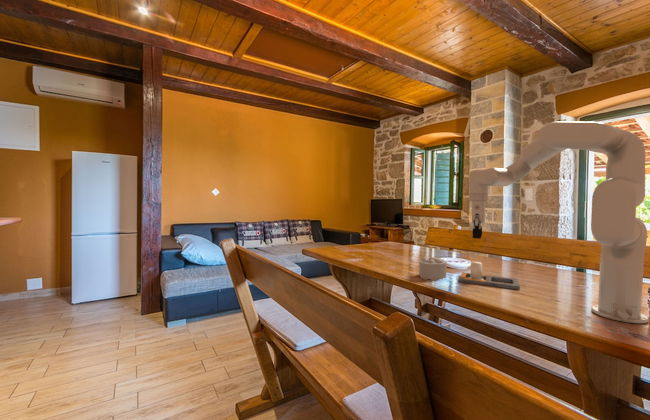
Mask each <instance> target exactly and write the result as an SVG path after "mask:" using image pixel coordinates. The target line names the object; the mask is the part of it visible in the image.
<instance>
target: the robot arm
mask: <svg viewBox="0 0 650 420" xmlns="http://www.w3.org/2000/svg"><path fill="white" fill-rule="evenodd" d="M568 149H569V150H580V151H581V150H582V151H588V152H593V153H599V154H603V155H606V157H607V161H606V167H605V180H603V181H601V182H600V183H598V184H597V185H596V186H595V188H594V189H593V193H592V198H591V214H590V215H591V216H590V217H591V218H590V230H591V231H590V232H591V234H592V237H593V238H594V240H595V241H596V242H597V243H599V244H600V245H601V249H600V259H599V275H598V276H599V278H598V298H597V300H598V303H597V304H594V305H592V306H591V312H593V313H595V314H596V315H598V316H601V317H603V318H607V319H610V320H614V321H618V322H621V323H622V322H623V323H630V324H646V323H648V322H649V316H647V315H646V314H643V313H642V301H643V300H642V298H643V282H644V281H643V278H644V265H645V264H644V261H645V251H646V245H647V239H648V230H647V227H646V224H645V223H644V221H642V220H641V219H640V218H638V217H637V215H636V214H637V207H639V206H640V205H641V204H643V202H644V201H645V199H646V198H645V197H646V148H645V144H644V142H643V140H642V139H641V138H640V137H639V136H638V135H637V134H635V133H633V132H631V131H628V130H625V129H622V128H619V127H615V126H613V125H610V124H608V123H603V122H601V121H600V122H597V121H552V122H549V123H547V124H544V125H543V126H542V127H541V128H540V130H538V133H537V138H536V139H535V140H533V141H531V142H530V143H528V144H527V145H525V146H524V147H522V148H521V150H520V156H519V157H518V159H516V161H514V162H513V163H511V164H509V165H508V166H507V167H504V168H500V167H489V168H485V169H474V170H471V171H470V172H469V174H468V175H469V176H468V202H470V203H471V214H470V215H471V224H473V225H472V226H473V228H472V239H481V238H482V236H483V225H485V224H486V203H487V202H489V201H488V200H489V187H508V186H511V185H513V184H514V183H516V182H518V181H520V180H522V179H524V178H525V177H527V176H528V175H529V174H530V173H532V171H534V169H535V168H537V167H538V166H539V165H541V164H542V163H544V162H546V161H548V160H549V159H552V158H553V157H555V156H557V155H558V154H560V153H562V152H564V151H566V150H568Z"/></svg>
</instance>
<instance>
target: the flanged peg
mask: <svg viewBox="0 0 650 420" xmlns="http://www.w3.org/2000/svg"><path fill="white" fill-rule="evenodd" d="M470 273H471V277H468V278H473V279H481V280H485V279H482V274H483V263H482V262H480V261H471V262H470Z"/></svg>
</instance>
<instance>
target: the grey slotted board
mask: <svg viewBox="0 0 650 420" xmlns="http://www.w3.org/2000/svg"><path fill="white" fill-rule="evenodd" d="M469 277H471V272H468V271H467V272H464V271H463V272H461V274H460V277H459V283H465V284H472V285H473V284H474V285H478V286H479V285H480V286H487V287H488V286H489V287H494V288H503V289H510V290H515V291H516V290H518V291H520V290H521V287H520V285H521V284H520V281H519V279H518V278H514V277H513V278H512V277H505V276H504V277H503V276H495V275H487V274H485V273H482V279H484V280H481V279H473V278H469Z"/></svg>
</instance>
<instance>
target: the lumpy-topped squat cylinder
mask: <svg viewBox="0 0 650 420" xmlns="http://www.w3.org/2000/svg"><path fill="white" fill-rule="evenodd" d="M418 270H419V273H418V274H419V275H418V276H420V277H421V278H420V277H419V278H420V279H422V278H423V280H426V279H431V280H430V281H440V280H439V279H441V280H444V279H446V278H447V261H446V260H444V259H442V258H440V257H435V256H430V257H429V258H428V257H427V256H423V257H422V258H421V259H420V260H419V269H418ZM443 278H444V279H443Z"/></svg>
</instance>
